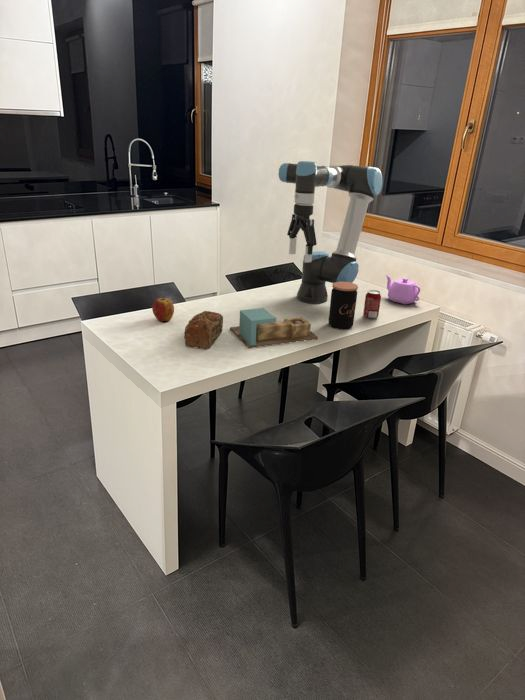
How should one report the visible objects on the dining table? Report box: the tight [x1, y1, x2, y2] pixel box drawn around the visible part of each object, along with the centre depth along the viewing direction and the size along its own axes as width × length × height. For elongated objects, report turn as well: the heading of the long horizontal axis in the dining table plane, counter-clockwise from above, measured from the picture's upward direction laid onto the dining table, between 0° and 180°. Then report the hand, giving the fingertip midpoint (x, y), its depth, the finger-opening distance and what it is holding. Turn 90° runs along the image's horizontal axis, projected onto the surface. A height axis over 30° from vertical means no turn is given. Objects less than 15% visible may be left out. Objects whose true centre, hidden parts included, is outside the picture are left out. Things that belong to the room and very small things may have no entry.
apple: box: [151, 297, 175, 322], centre depth 207 cm, size 9×9×10 cm
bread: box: [183, 310, 224, 350], centre depth 190 cm, size 19×11×10 cm, turn 168°
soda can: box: [362, 289, 382, 320], centre depth 221 cm, size 7×7×12 cm
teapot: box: [385, 274, 421, 305], centre depth 246 cm, size 20×13×12 cm, turn 48°
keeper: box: [238, 307, 277, 348], centre depth 191 cm, size 12×10×11 cm
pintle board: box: [229, 320, 318, 349], centre depth 199 cm, size 20×30×6 cm, turn 114°
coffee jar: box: [328, 282, 359, 331], centre depth 209 cm, size 11×11×18 cm
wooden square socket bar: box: [256, 316, 312, 340], centre depth 196 cm, size 22×8×5 cm, turn 114°
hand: (299, 258), depth 200 cm, fingers open, 13 cm apart
